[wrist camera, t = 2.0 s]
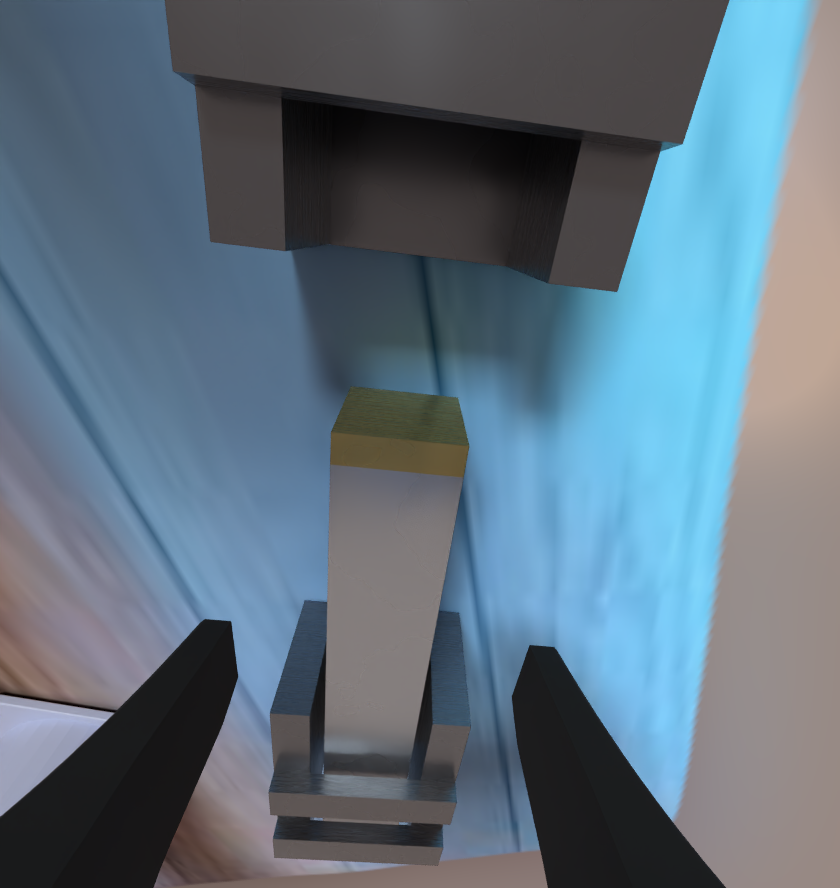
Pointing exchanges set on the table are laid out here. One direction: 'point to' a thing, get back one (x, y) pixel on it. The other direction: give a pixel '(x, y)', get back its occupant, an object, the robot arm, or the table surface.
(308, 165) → the socket
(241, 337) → the table surface
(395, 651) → the rod
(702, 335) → the table surface
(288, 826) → the sleeve
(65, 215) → the table surface
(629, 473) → the table surface
